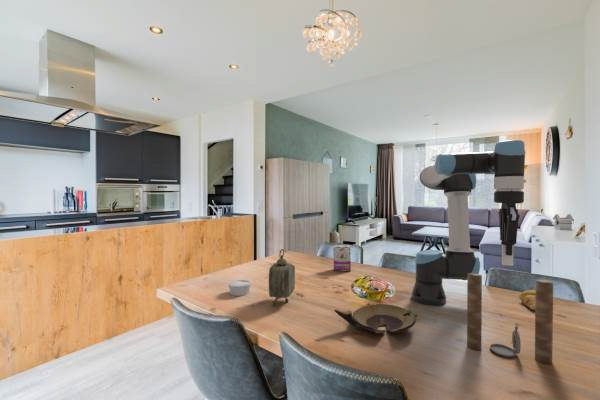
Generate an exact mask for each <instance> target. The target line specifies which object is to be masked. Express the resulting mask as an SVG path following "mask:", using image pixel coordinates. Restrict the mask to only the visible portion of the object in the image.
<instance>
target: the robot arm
mask: <svg viewBox="0 0 600 400" xmlns="http://www.w3.org/2000/svg"><path fill="white" fill-rule="evenodd" d="M525 150H526V149H525V142H524V140H521V139H511V140H510V139H509V140H502V141H497V142H496V144H495V145H494V149H493V151H486V152H485V151H483V152H482V151H479V152H454V153H453V152H446V153H439V154H438V155H437V156H436V157H435V163H434V164H433V165H429V166H427V167H425V168H423V169H422V170H421V172H420V175H419V182H420V183H421V184H422V185H423V186H424V187H425V188H427V189H429V190H433V191H443V195H444V196H445V197H446V198H447V218H448V219H447V220H448V247H447V248H445V253H443V252H442V250H439V249H425V250H421V251H418V252H417V253H416V254H415V261H414V263H415V282H414V285H413V287H412V290H411V298H412V300H413V301H415V302H418V303H420V304H424V305H429V306H443V305H445V304H446V303H447V295H446V292H445V290H444V287H443V280H460V281H461V280H462V281H467V278H468V273H474V274H479V273H480V272H481V271H480V269H481V262H480V258H479V256H478V255H476V254H475V251H474V250H473V248H471V239H470V219H469V218H470V217H469V215H470V214H469V197H470V195H471V194H472V191H473V190H475V188H476V186H477V176H476V175H481V174H482V175H494V177H493V188H494V189H493V190H495V191H494V192H493V202H494V204H495V203H496V204H501V207H500V208H499V211H498V218H499V241H500V245H501V265H502V266H511V267H513V266H514V255H515V254H514V250H515V249H514V248H515V247H514V246H515V245H516V244H517V238H518V229H519V228H518V227H519V220H520V216H521V215H520V213H519V211H518V209H517V205H516V204H523V203H524V202H525V192H524V191H522V190H524V188H525V183H527V179H525V164H526V163H525V161H526V151H525ZM479 275H480V274H479Z"/></svg>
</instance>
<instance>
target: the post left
mask: <svg viewBox="0 0 600 400" xmlns="http://www.w3.org/2000/svg"><path fill="white" fill-rule="evenodd" d="M482 275H483V274H474V273H468V278H467V280H466V281H467V291H466V292H467V293H466V294H467V295H466V296H467V298H466V299H467V301H466V302H467V304H466V305H467V306H466V307H467V310H466V315H467V316H466V322H467V323H466V346H467V348H468V349H471V351H481V350H482V328H483V327H482V321H483V319H482V317H483V316H482V315H483V314H482V311H483V308H482V307H483V306H482V304H483V301H482V299H483V294H482V293H483V276H482Z"/></svg>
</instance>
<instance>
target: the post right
mask: <svg viewBox="0 0 600 400" xmlns="http://www.w3.org/2000/svg"><path fill="white" fill-rule="evenodd" d="M535 290H536V293H535V310H534V311H535V313H534V317H535V318H534V359H535V360H536V361H537V362H539V363H541V364H544V365H553V342H554V341H553V339H554V338H553V332H554V329H553V328H554V325H553V324H554V282H552V281H549V280H545V279H535Z"/></svg>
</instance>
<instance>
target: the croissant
mask: <svg viewBox="0 0 600 400" xmlns="http://www.w3.org/2000/svg"><path fill="white" fill-rule="evenodd" d="M535 293H536V289H527V290H524V291H522V292H520V294H519V295H518V296H519V297H518V298H519V300H520V301H521V302H522V304H523V305H524V306H526V307H527V308H529V309H530V310H532V311H535Z"/></svg>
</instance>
